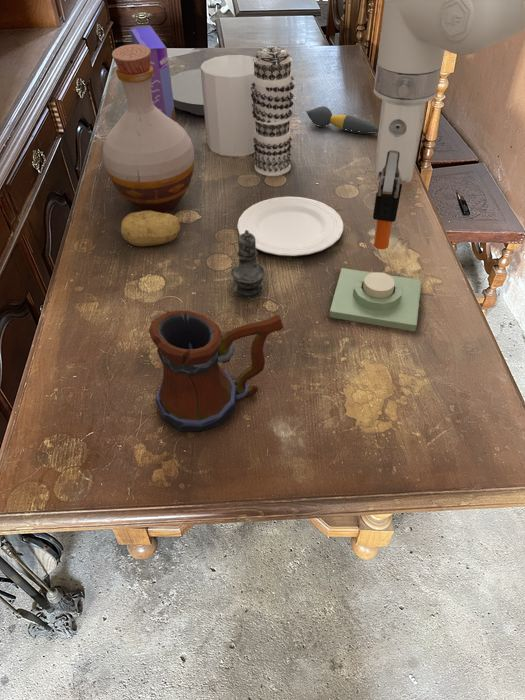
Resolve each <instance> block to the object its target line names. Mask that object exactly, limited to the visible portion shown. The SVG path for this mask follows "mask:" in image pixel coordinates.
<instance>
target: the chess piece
mask: <svg viewBox="0 0 525 700" xmlns="http://www.w3.org/2000/svg"><path fill="white" fill-rule="evenodd" d="M258 256H259V250H257V249H256V241H255V236H254V235H253V234H251V233H249V232H248V230H246V231H245V233H243V234H241V235H239V236H238V250H237V252H236V257H237V258H238V264H236V265H234V267H232V269H231V271H230V275H231V277H232V279H233V281H234V283H235V284H234V286H233V291H234V293H235V294H236V295H237V296H238V297H241V298H244V299H253V298H256V297H259V296H260V295H262V294H263V292H264V289H265V286H264V284H263V280H264V277H265V275H266V269H265V267H264V266H263V265H261V264H260V263H258V262H257V257H258Z"/></svg>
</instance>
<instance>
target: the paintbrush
mask: <svg viewBox="0 0 525 700" xmlns="http://www.w3.org/2000/svg"><path fill="white" fill-rule="evenodd" d="M332 113H333V112H332V111H331V109H330V108H329V107H327V106H325V105H322V106H318V107H314V108H312V109H310V110H306V114H307V116H308V118H309V119H310V121H311V122H312V124H313V125H315V124H316V125H315V126H316V127H318V128H326V127H327V126H329V125H330V124H331V125H332V126H334V127H336V128H338V127H339V128H338V129H339V130H342V131H343V132H348V133H353V134H361V135H375V134H378V130H379V127H377V126H376V125H374V124H373V123H371V122H369V121H367V120H365V119H362V118H359V117H356V116H353V115H349V114H332ZM317 125H319V126H317ZM326 125H327V126H326ZM341 128H342V129H341ZM345 129H347V130H345ZM351 130H352V131H351ZM358 131H360V132H358ZM368 132H369V133H368ZM370 132H377V133H370Z"/></svg>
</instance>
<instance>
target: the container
mask: <svg viewBox="0 0 525 700" xmlns="http://www.w3.org/2000/svg"><path fill="white" fill-rule="evenodd" d="M252 58H253V56H250V55H244V54H226V55H220V56H213V57H211V58H209V59H207V60H205V61H204V60H203V62H202V64H201V65H200V67H199V68H200V70H201V80H202V91H203V102H204V113H205V115H204V123H205V134H206V145H207V147H208V148H209V150H210V151H211V152H214V153H216V154H217V155H220V156H227V157H243V156H249V155H252V154H254V152H255V150H254V144H255V143H254V140H253V139H254V138H255V129H256V125H255V120H254V118H253V113H252V111H253V107H252V104H253V100H252V97H251V94H252V90H251V84H252V83H253V82H254V80H253V73H254V61H253V60H252ZM254 89H255V88H254ZM254 96H255V94H254ZM255 106H256V105H255Z"/></svg>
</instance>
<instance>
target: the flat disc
mask: <svg viewBox="0 0 525 700" xmlns="http://www.w3.org/2000/svg"><path fill="white" fill-rule="evenodd" d="M170 78H171V86H172V94H173V101H174V108H176V109H177V110H180V111H185V112H190V113H191V114H195V115H197V116H205V113H204V102H203V91H202V80H201V70H200V67H199V68H193V69H189V70H185V71H182V72H179V73H177V74H174V75H172V76H170Z"/></svg>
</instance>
